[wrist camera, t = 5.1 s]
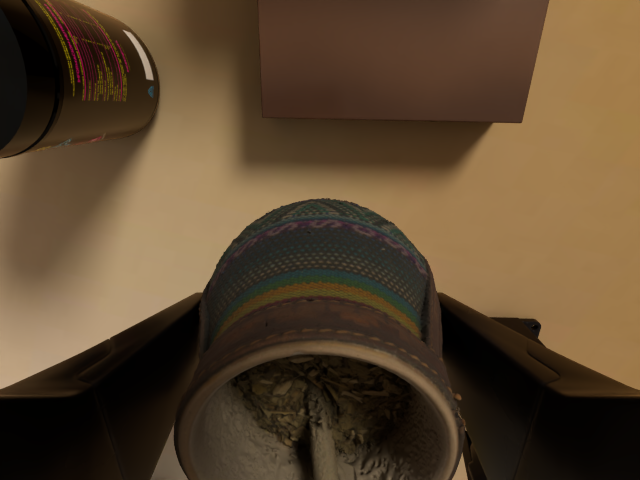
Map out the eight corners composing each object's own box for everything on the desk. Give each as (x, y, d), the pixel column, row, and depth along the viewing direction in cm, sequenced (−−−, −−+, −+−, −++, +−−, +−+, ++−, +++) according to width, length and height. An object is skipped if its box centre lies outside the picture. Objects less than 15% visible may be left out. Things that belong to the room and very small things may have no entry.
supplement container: (24, 49, 20) (-263, -5, 10) (117, -12, 19) (-102, -140, 9) (100, 156, 22) (-74, 196, 12) (187, 107, 21) (73, 108, 11)
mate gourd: (374, 146, 12) (557, 283, 3) (436, 313, 15) (641, 684, 5) (198, 224, 13) (-107, 514, 4) (284, 367, 16) (229, 753, 6)
